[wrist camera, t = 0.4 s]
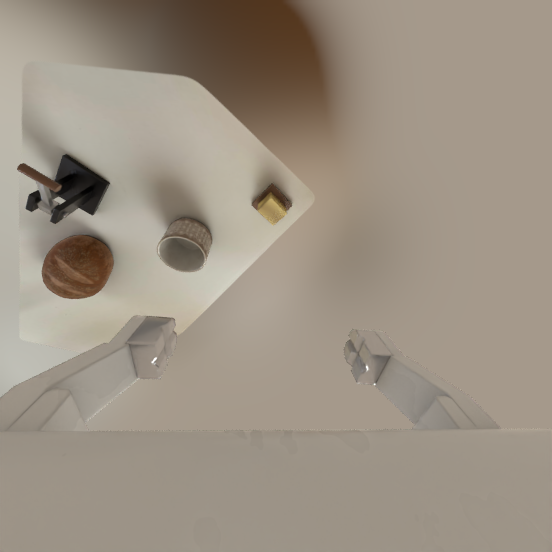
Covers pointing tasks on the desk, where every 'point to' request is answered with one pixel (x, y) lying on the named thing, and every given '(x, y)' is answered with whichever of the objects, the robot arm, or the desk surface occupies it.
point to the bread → (77, 267)
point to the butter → (272, 204)
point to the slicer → (73, 190)
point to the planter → (185, 245)
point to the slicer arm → (42, 188)
